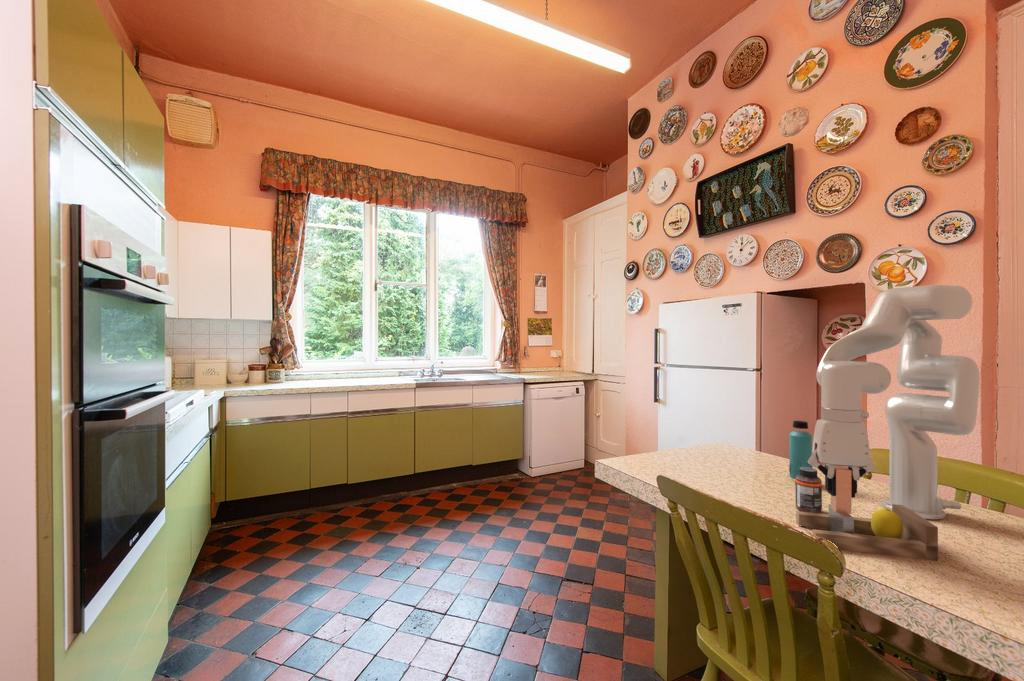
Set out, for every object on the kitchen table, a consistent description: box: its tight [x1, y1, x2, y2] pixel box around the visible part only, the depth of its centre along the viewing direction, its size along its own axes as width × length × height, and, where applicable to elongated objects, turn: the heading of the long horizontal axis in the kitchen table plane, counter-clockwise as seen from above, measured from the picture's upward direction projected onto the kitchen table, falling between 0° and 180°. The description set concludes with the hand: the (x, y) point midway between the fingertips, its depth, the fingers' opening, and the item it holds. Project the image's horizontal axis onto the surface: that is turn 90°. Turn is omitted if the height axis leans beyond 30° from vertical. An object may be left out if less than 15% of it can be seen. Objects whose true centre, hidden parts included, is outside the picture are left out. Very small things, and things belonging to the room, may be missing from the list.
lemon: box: [870, 507, 903, 539], centre depth 99 cm, size 6×6×8 cm
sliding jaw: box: [828, 465, 855, 534], centre depth 102 cm, size 3×8×16 cm, turn 163°
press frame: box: [795, 504, 939, 562], centre depth 100 cm, size 22×13×7 cm, turn 73°
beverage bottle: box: [788, 420, 813, 480], centre depth 141 cm, size 6×7×20 cm
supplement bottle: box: [794, 467, 823, 514], centre depth 118 cm, size 6×6×11 cm
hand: (840, 494), depth 102 cm, fingers closed on sliding jaw, 3 cm apart
